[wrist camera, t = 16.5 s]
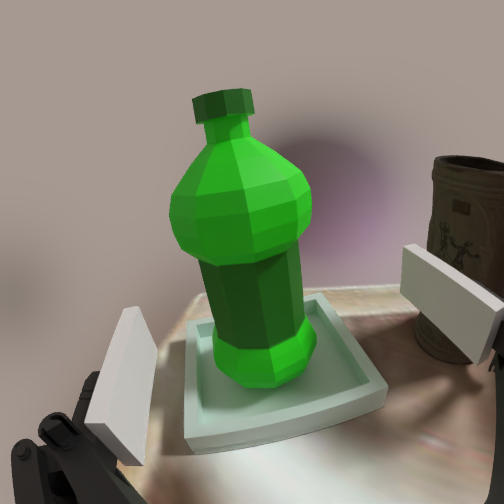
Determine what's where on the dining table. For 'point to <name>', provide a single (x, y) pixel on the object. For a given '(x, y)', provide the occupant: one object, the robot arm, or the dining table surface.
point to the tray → (278, 389)
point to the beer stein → (465, 234)
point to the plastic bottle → (246, 244)
